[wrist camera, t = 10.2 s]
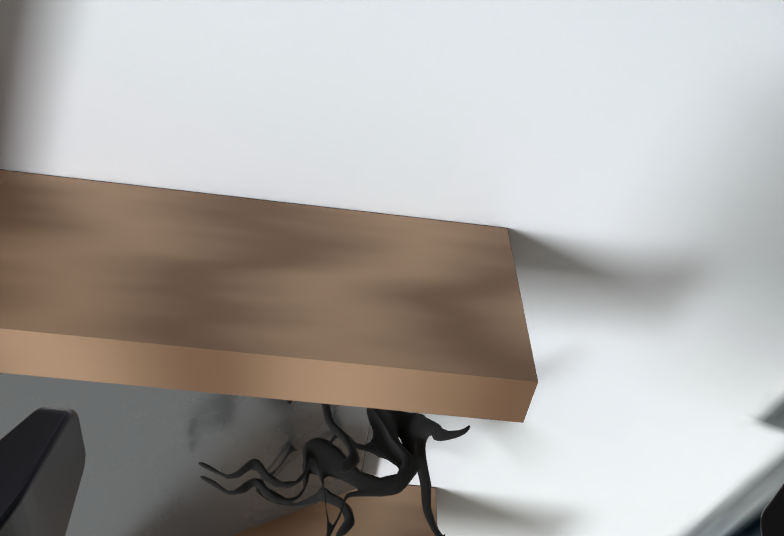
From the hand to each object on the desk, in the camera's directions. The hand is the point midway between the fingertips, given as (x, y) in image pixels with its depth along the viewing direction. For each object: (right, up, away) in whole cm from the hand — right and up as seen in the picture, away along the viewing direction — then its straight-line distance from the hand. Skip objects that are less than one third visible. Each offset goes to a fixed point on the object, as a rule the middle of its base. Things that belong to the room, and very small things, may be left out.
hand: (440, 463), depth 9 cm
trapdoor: (-7, -3, +15) cm, 17 cm away
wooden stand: (-6, -1, +18) cm, 19 cm away
